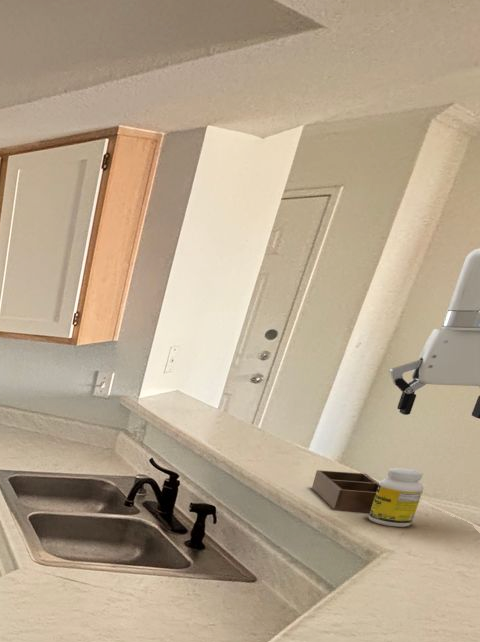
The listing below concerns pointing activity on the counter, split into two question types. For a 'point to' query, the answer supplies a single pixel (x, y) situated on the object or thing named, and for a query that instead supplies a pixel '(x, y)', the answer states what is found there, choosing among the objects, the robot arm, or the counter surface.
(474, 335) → the robot arm
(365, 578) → the counter surface
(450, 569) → the counter surface
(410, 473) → the pill bottle
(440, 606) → the counter surface
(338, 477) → the divided box
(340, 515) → the counter surface
